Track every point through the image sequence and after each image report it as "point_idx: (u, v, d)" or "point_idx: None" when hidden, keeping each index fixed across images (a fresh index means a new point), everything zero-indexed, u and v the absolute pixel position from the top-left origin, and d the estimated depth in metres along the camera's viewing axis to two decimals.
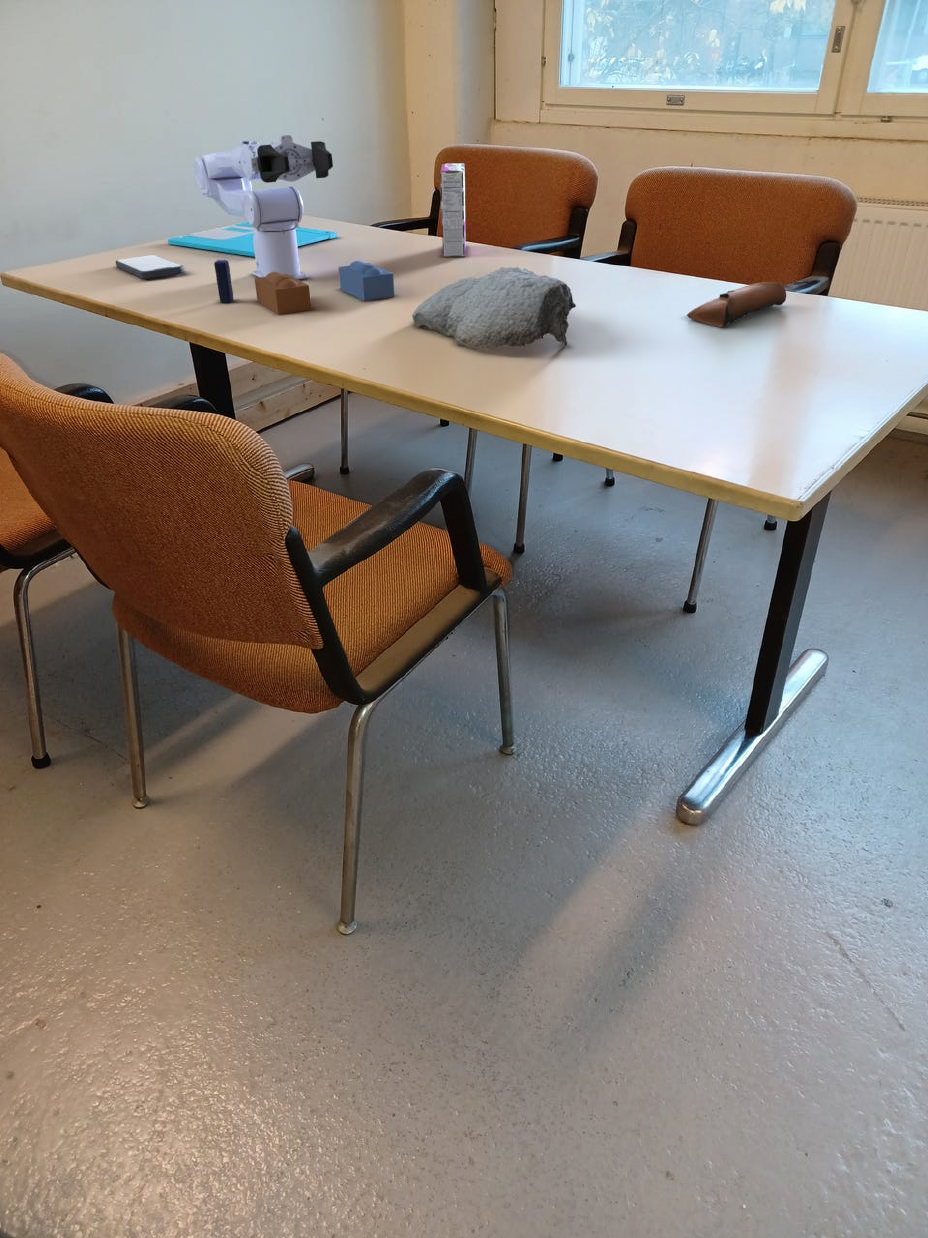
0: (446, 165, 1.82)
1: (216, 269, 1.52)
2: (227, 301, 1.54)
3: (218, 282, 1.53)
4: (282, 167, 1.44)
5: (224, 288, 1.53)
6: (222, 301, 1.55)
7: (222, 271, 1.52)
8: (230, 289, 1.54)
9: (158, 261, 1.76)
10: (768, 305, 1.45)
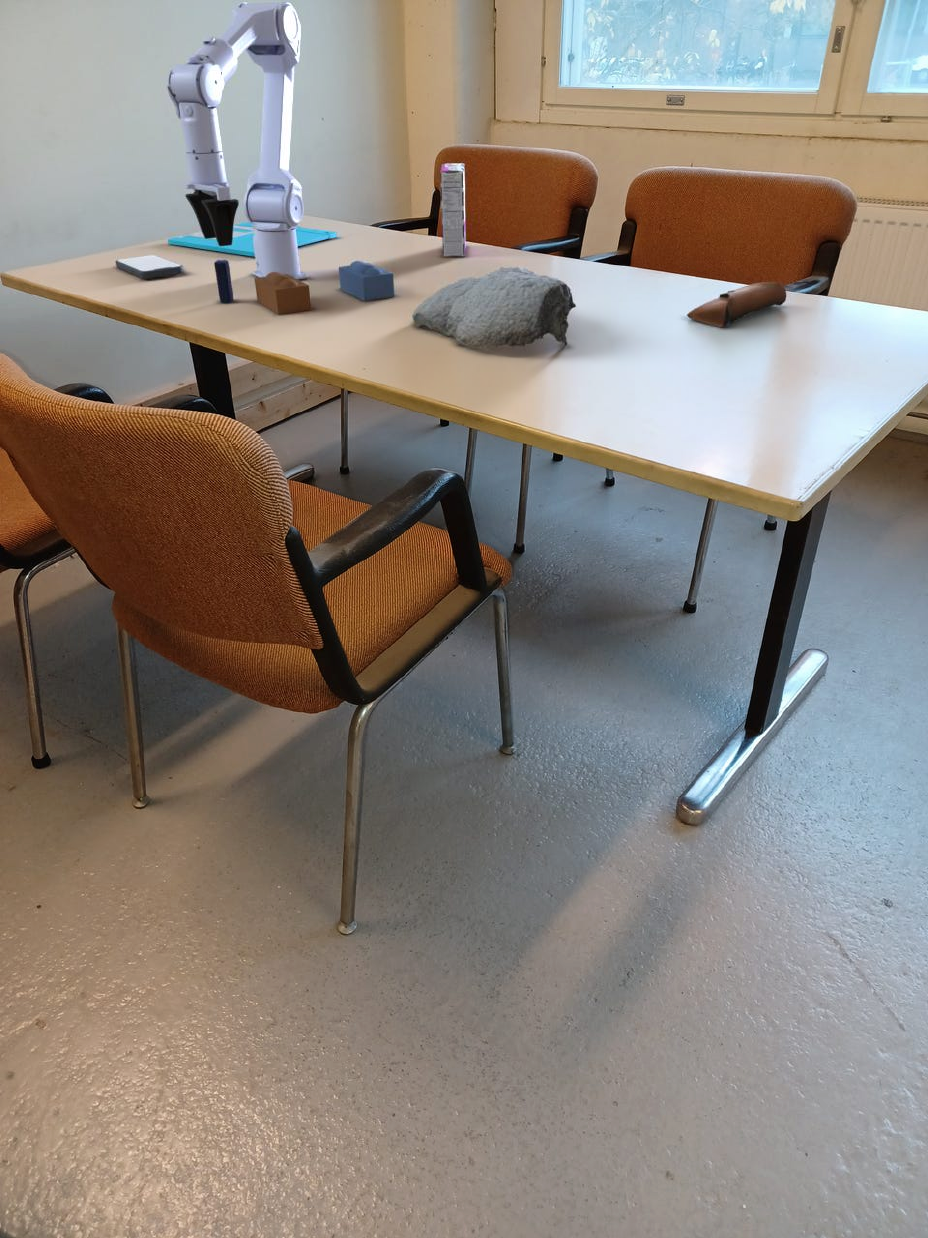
0: (446, 165, 1.82)
1: (216, 269, 1.52)
2: (227, 301, 1.54)
3: (218, 282, 1.53)
4: None
5: (225, 288, 1.53)
6: (222, 301, 1.55)
7: (222, 271, 1.52)
8: (230, 289, 1.54)
9: (158, 261, 1.76)
10: (768, 305, 1.45)
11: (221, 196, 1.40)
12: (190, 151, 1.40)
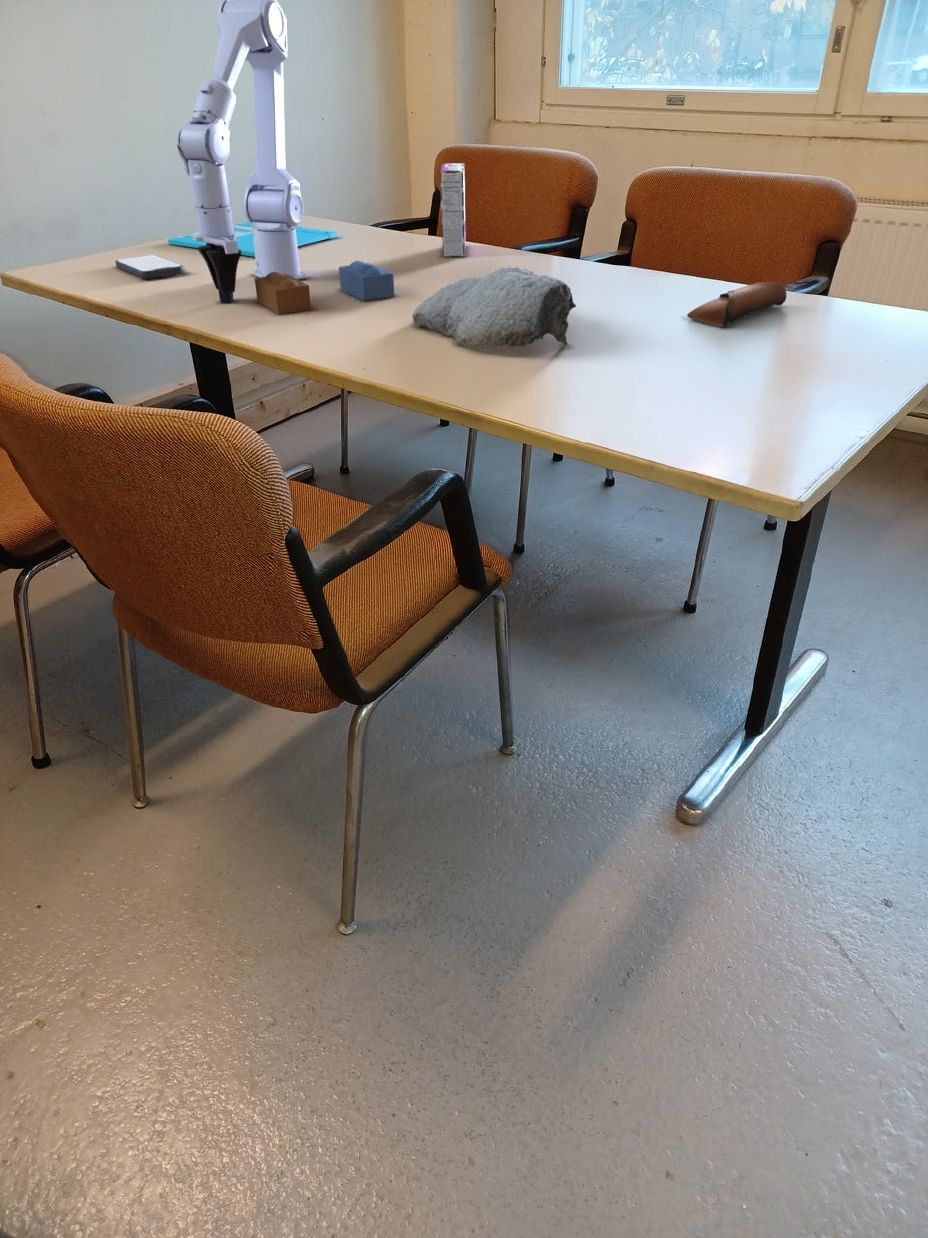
0: (446, 165, 1.82)
1: None
2: (227, 301, 1.54)
3: (218, 282, 1.53)
4: None
5: None
6: (222, 301, 1.55)
7: None
8: None
9: (158, 261, 1.76)
10: (768, 305, 1.45)
11: (229, 250, 1.45)
12: (199, 206, 1.45)
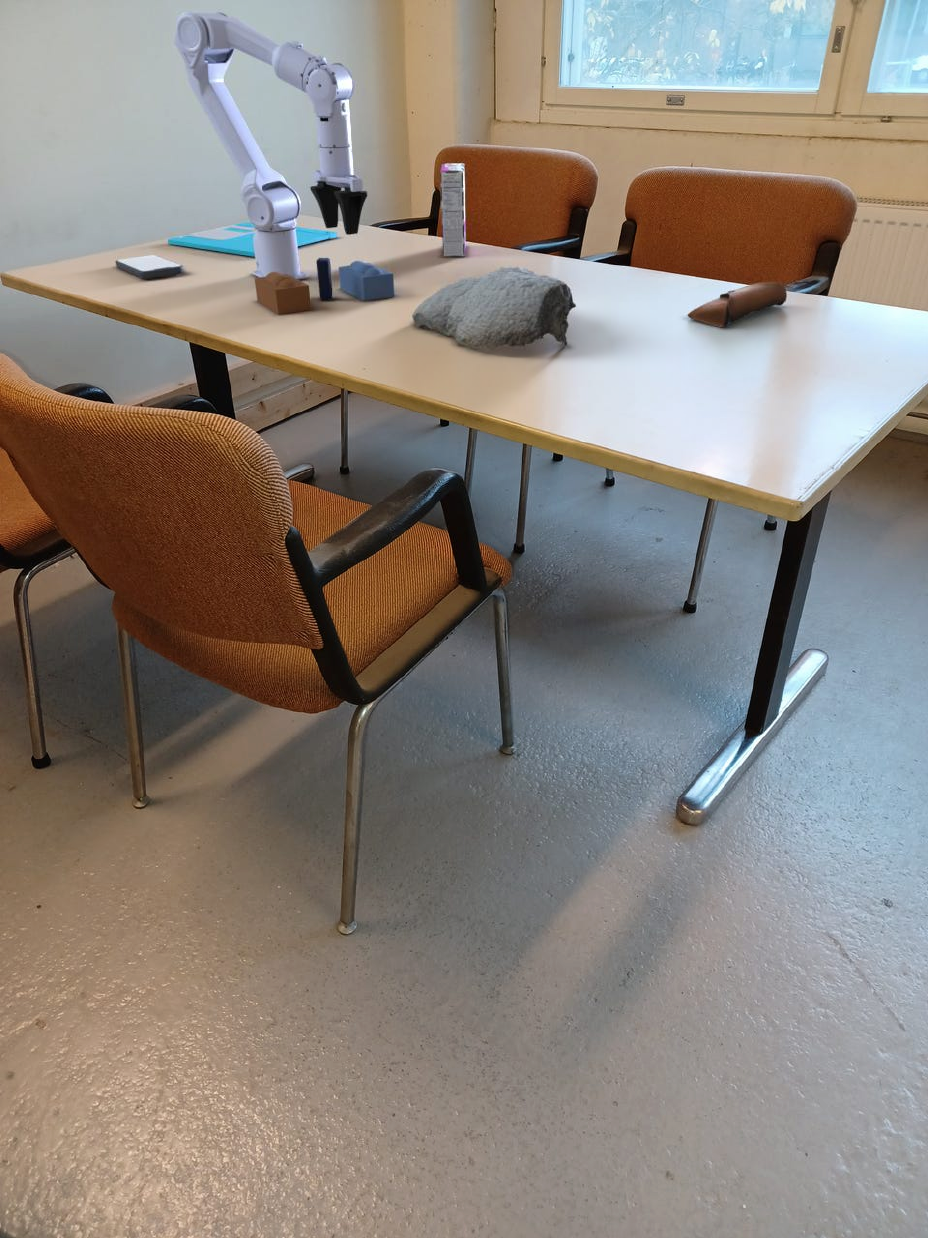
0: (446, 165, 1.82)
1: (318, 267, 1.52)
2: (327, 298, 1.55)
3: (319, 280, 1.54)
4: None
5: (325, 285, 1.54)
6: (322, 299, 1.55)
7: (324, 269, 1.53)
8: (330, 287, 1.55)
9: (158, 261, 1.76)
10: (768, 305, 1.45)
11: (355, 187, 1.51)
12: (346, 145, 1.51)
